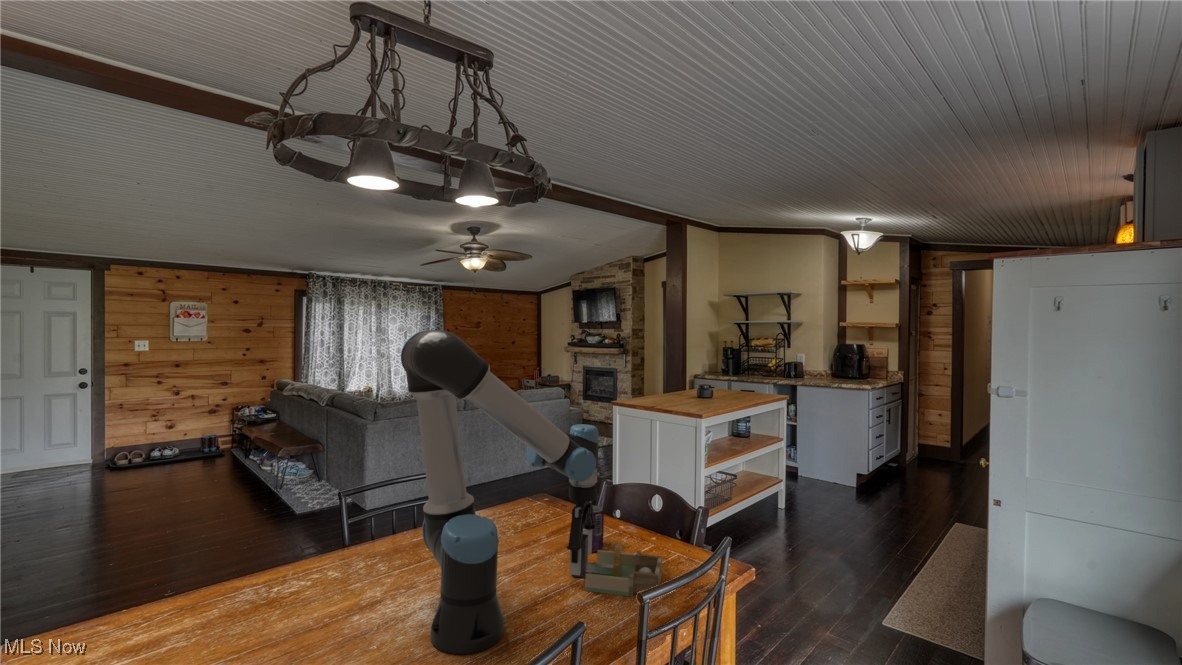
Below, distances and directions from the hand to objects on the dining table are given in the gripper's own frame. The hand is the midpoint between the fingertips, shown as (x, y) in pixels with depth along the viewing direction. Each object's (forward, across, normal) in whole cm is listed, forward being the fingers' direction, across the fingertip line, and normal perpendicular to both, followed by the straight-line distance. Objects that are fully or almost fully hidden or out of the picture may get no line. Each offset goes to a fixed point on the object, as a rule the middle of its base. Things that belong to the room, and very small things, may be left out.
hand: (581, 563), depth 142 cm
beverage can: (+3, +18, +1) cm, 18 cm away
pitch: (+3, 0, -8) cm, 9 cm away
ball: (+1, 0, -17) cm, 17 cm away
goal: (+3, 0, -18) cm, 18 cm away
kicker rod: (+3, 0, -4) cm, 5 cm away
